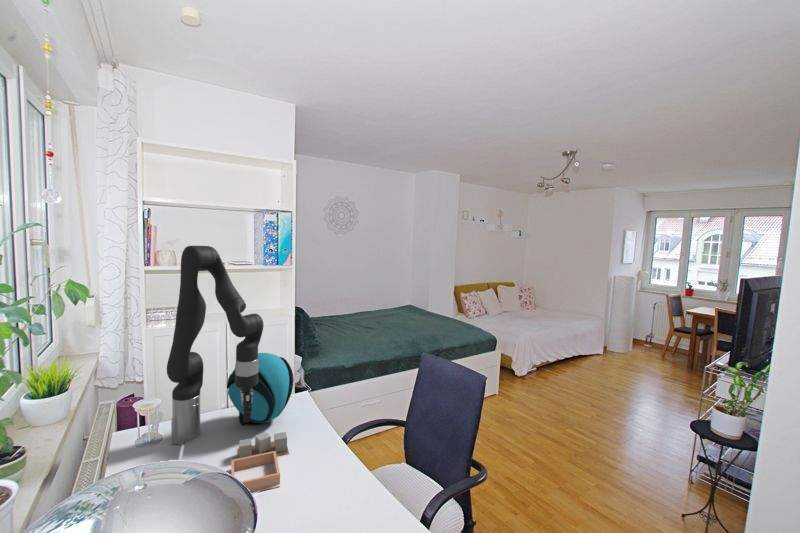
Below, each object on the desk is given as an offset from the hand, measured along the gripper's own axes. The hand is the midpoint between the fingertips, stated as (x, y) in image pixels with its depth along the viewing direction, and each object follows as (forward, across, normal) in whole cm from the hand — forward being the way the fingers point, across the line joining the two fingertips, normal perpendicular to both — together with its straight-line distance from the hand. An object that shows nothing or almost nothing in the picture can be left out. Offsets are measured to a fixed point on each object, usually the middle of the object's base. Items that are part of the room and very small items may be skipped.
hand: (246, 415), depth 125 cm
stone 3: (+15, 0, +12) cm, 19 cm away
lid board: (+16, 0, +6) cm, 17 cm away
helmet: (+16, -23, +7) cm, 29 cm away
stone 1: (+15, 0, 0) cm, 15 cm away
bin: (+16, +13, +2) cm, 21 cm away
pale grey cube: (+15, -2, +6) cm, 16 cm away
